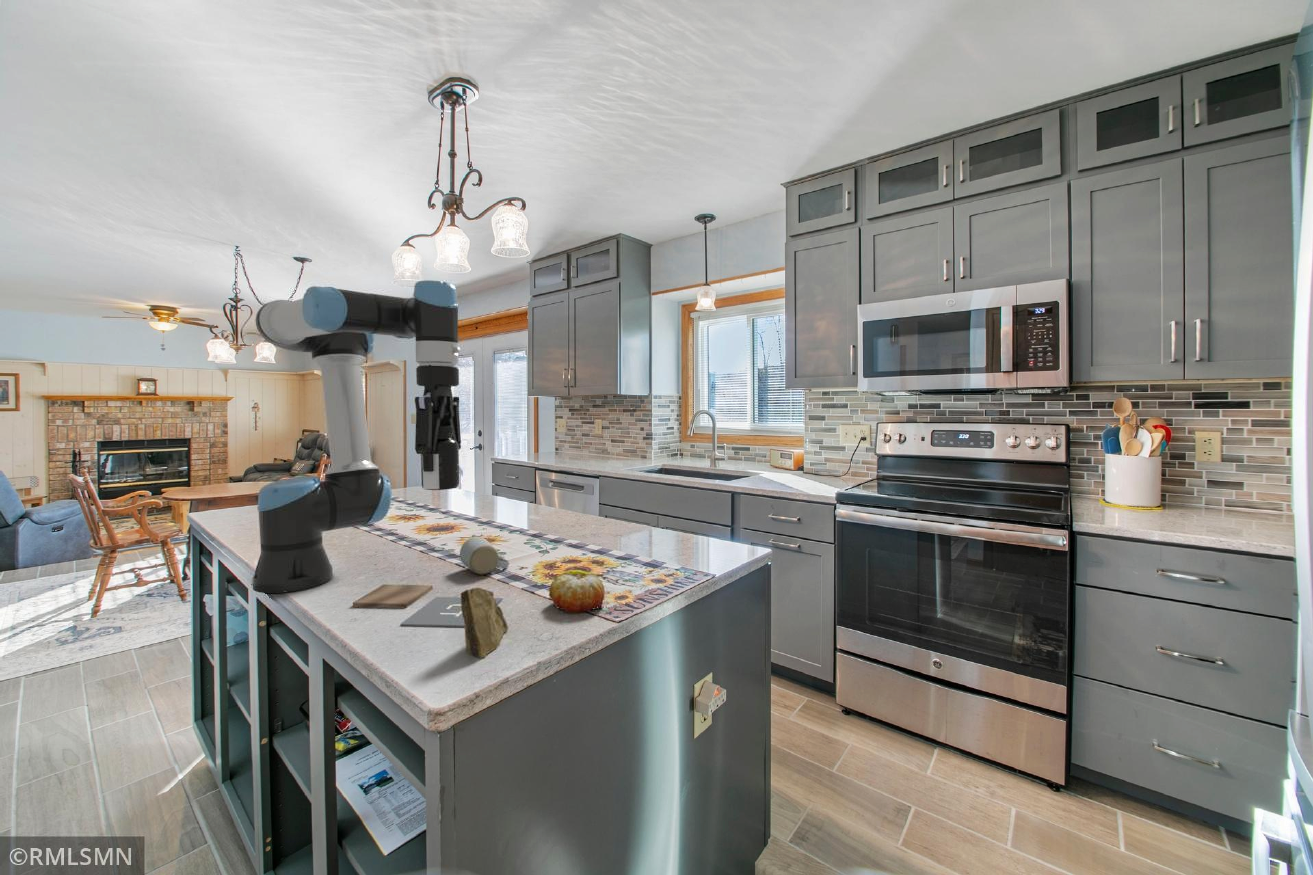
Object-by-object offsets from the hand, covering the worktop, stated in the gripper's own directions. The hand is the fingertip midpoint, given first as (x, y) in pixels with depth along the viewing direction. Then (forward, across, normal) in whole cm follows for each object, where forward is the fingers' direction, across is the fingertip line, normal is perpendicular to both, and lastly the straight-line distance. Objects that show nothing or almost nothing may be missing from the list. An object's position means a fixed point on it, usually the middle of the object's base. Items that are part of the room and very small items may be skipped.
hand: (440, 485), depth 107 cm
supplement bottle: (+1, 0, 0) cm, 1 cm away
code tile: (+24, -2, -3) cm, 25 cm away
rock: (+24, -14, -15) cm, 32 cm away
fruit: (+25, +3, -26) cm, 36 cm away
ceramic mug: (+25, +25, +1) cm, 35 cm away
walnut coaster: (+25, +6, +13) cm, 28 cm away
